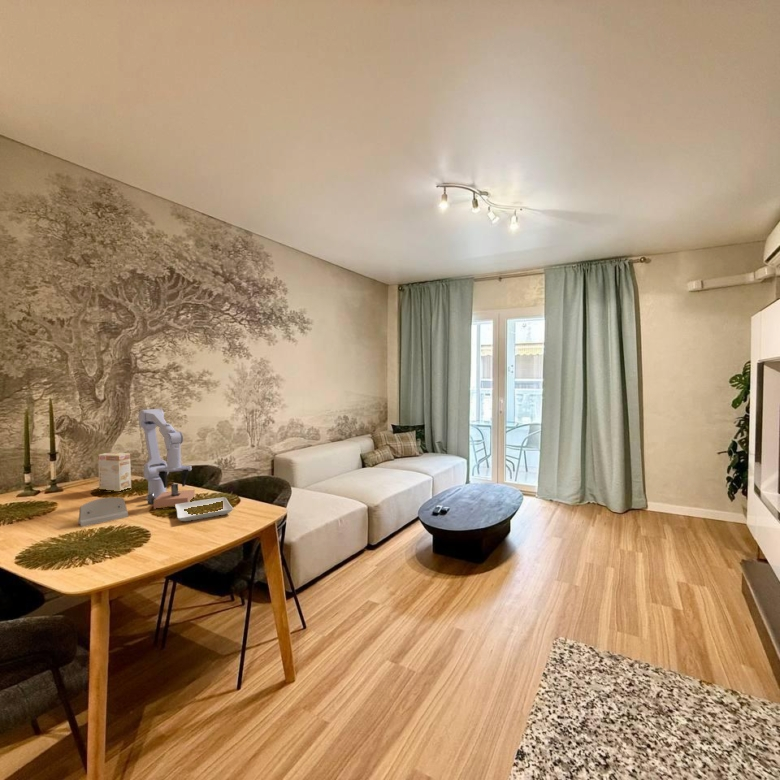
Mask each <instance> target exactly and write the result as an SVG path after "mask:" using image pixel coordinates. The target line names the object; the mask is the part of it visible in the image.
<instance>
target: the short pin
mask: <svg viewBox="0 0 780 780" xmlns="http://www.w3.org/2000/svg"><path fill="white" fill-rule="evenodd" d="M146 497H148V499H147V505H154V501H153V500H155V499H156V498H154V493H151V494H147V495H146Z"/></svg>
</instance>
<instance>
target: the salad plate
mask: <svg viewBox="0 0 780 780" xmlns="http://www.w3.org/2000/svg"><path fill="white" fill-rule="evenodd" d="M221 501H223V509H221V510H218V511H215V512H208V513H203V514H198V515H196V514H193V515H191V514H188V512H187V511H184V509H188V508H191V507H197V506H203V505H209V504H213V503H216V502H221ZM175 509H176V518H177V519H178V520H179V521H181V522H191V520H193V521H197V519H199V520H204V519H209V518H208V517H210V518H215V517H219V515H221V516H223V515H227V514H230V513H231V512H233V510H234V508H233V506H232V505H231V504H230V502H229V500H228V498H226V496H225V497H224V496H222V497H221V496H220V497H215V498H214V497H213V498H209V499H201V500H194V501H192V502H186V503H180V504H175ZM214 516H215V517H214ZM203 518H204V519H203Z"/></svg>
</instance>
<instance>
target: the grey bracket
mask: <svg viewBox="0 0 780 780" xmlns="http://www.w3.org/2000/svg"><path fill="white" fill-rule="evenodd" d="M78 515H79V516H78V525H80V527H81V528H84V527H87V526H93V525H97V524H102V523H107V522H111V521H114V520H120V519H124V518H129V512H128V509H127V505H126V501H125V499H124V498H123V497H113V496H111V497H108V496H107V497H101V498H97V499H94V500H91V501H88V502H86V503H84V504H82V505H80V507H79V513H78Z"/></svg>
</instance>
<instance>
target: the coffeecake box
mask: <svg viewBox="0 0 780 780" xmlns="http://www.w3.org/2000/svg"><path fill="white" fill-rule="evenodd" d="M97 456H98V457H97V458H98V459H97V461H98V464H97V465H98V485H99V486H98V490H99V489H106V490H114V491H121V490H124V489H127V488H131V489H132V471H131V469H132V467H131V466H132V465H131V453H129V452H128V453H127V452H126V453H125V452H104V453H100V454H97Z"/></svg>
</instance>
